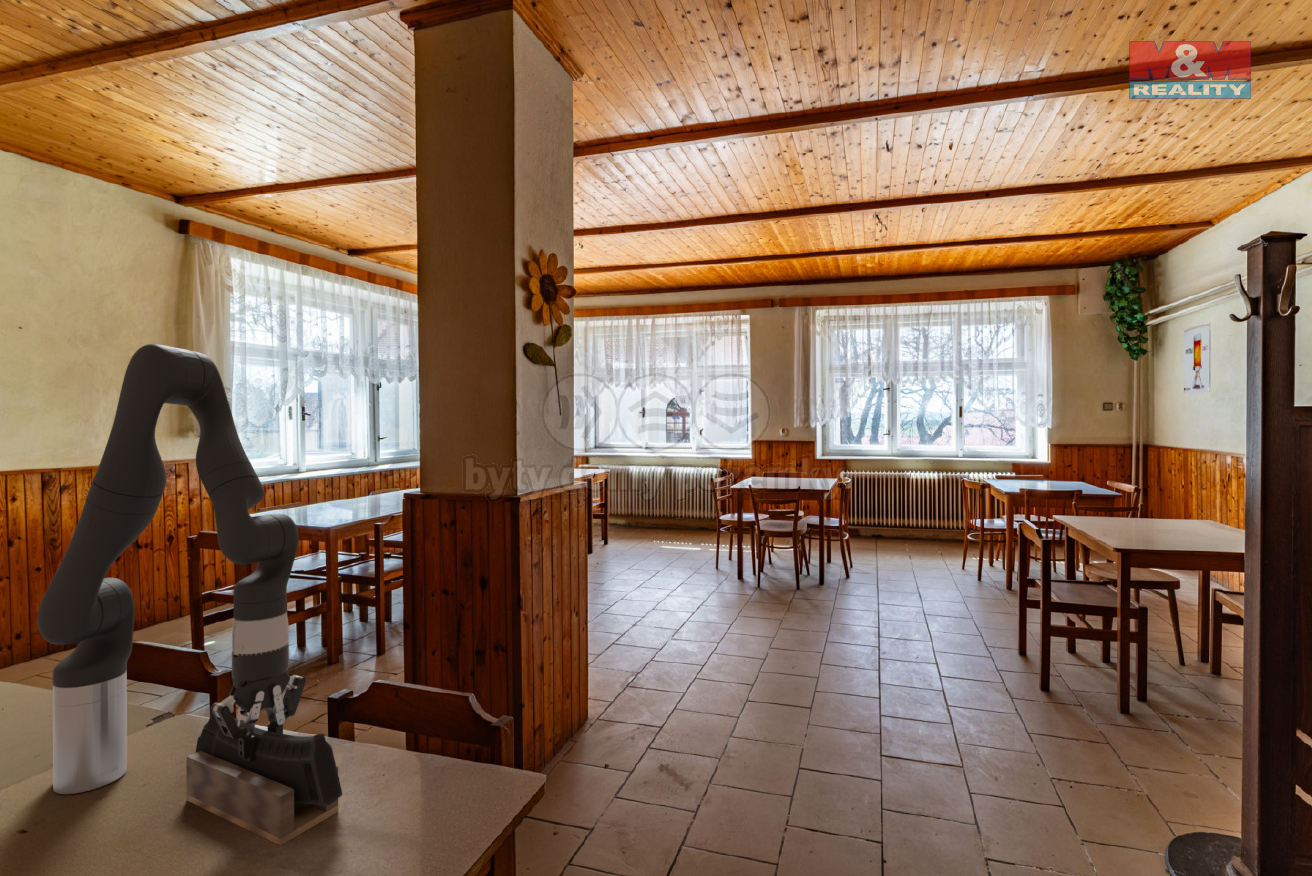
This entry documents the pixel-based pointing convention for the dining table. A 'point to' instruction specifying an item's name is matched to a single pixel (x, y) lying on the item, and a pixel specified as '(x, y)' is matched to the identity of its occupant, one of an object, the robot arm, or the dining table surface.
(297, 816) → the slot block
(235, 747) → the magazine
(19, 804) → the dining table surface
